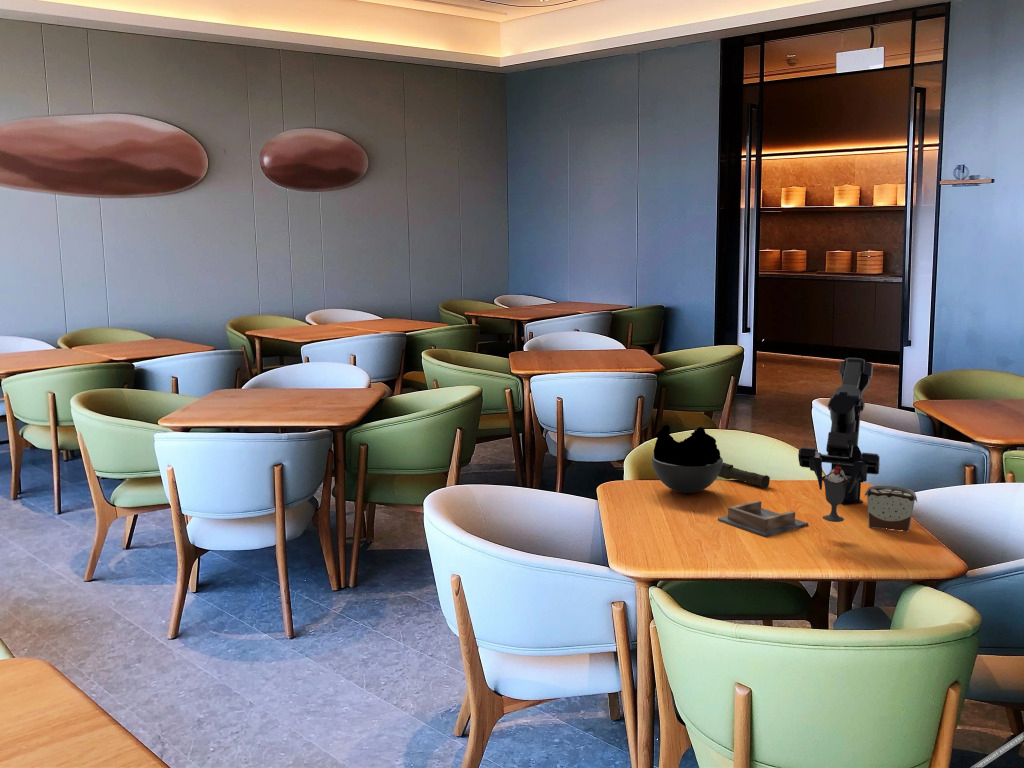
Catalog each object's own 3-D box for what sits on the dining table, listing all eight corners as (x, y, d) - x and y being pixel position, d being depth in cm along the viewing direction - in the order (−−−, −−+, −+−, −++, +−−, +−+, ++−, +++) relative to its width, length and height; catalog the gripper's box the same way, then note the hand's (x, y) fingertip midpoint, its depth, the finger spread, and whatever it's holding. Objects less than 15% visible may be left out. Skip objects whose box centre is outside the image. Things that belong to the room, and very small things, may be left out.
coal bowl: (736, 495, 266) (739, 430, 262) (682, 506, 255) (684, 439, 252) (689, 478, 282) (691, 417, 279) (637, 488, 272) (638, 425, 269)
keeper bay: (759, 509, 252) (760, 496, 251) (808, 525, 239) (808, 511, 238) (717, 520, 243) (718, 506, 243) (765, 537, 230) (765, 523, 229)
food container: (915, 526, 238) (918, 488, 236) (915, 533, 232) (917, 494, 231) (864, 519, 243) (866, 482, 241) (862, 526, 237) (864, 488, 236)
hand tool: (770, 487, 273) (771, 472, 273) (761, 490, 271) (762, 474, 270) (721, 474, 289) (721, 459, 288) (712, 476, 286) (712, 461, 286)
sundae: (834, 524, 224) (837, 464, 222) (813, 517, 230) (816, 458, 227) (854, 520, 227) (857, 460, 225) (833, 513, 233) (836, 454, 230)
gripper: (801, 415, 232) (792, 469, 224) (881, 421, 224) (875, 478, 216) (804, 439, 240) (795, 492, 232) (881, 446, 232) (875, 501, 225)
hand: (834, 490), depth 226 cm, fingers closed on sundae, 6 cm apart
